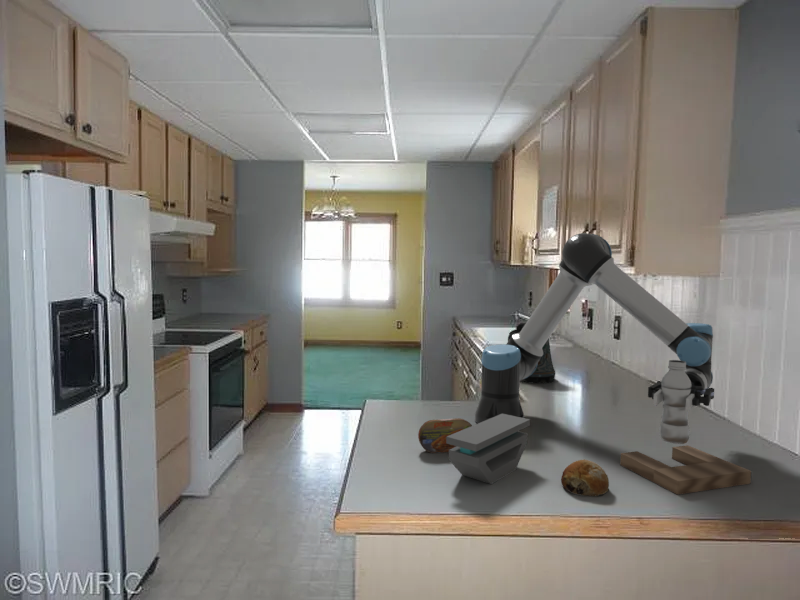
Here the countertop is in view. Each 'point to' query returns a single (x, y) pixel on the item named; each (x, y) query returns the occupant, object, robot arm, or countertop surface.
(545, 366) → the beer stein
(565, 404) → the countertop surface
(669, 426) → the plastic bottle
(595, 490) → the bread roll
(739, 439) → the countertop surface
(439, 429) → the tin
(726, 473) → the notched board
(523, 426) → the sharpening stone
